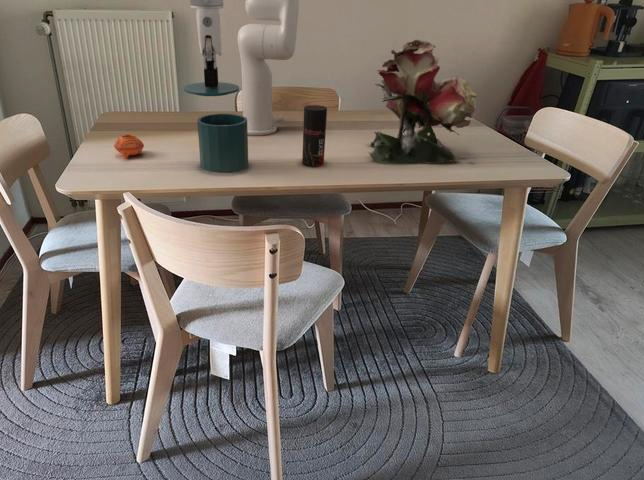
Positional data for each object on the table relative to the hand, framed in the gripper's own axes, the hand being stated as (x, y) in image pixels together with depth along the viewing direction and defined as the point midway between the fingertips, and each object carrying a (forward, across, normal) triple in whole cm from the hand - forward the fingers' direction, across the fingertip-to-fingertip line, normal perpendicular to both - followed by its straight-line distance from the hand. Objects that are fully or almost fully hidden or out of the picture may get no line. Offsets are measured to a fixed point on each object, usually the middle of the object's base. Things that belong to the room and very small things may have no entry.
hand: (211, 84), depth 122 cm
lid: (+1, 0, 0) cm, 1 cm away
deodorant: (+21, +1, -26) cm, 34 cm away
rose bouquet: (+21, +11, -58) cm, 62 cm away
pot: (+21, +9, +24) cm, 33 cm away
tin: (+21, 0, -2) cm, 21 cm away
